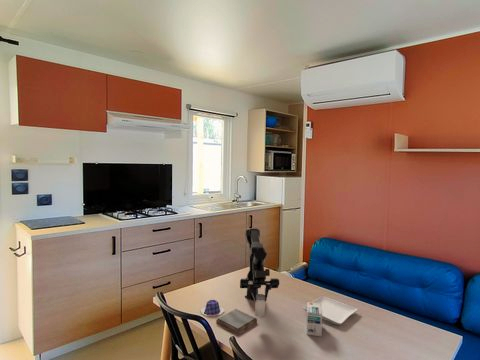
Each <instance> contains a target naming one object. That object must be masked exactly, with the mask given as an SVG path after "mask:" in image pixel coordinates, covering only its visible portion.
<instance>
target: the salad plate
mask: <svg viewBox="0 0 480 360" xmlns="http://www.w3.org/2000/svg"><path fill="white" fill-rule="evenodd" d="M311 303H318V304H321V310H322V320H324V321H327V322H329V323H331V322H332V323H331V324H334V325H337V326H340V325H342V324H343V323H344V322H346V320H347V319H348V318H350V317H351V316H352V315H353V314H355V313H357V312H358V310H359V309H358V308H357V307H355V306H351V305H349V304H346V303H343V302H341V301H339V300H336V299H333V298H329V297H326V296H324V295H322V296H320V297H318V298H316V299H314V300H313V301H311ZM302 309H303V310H304V311H305V312H307V304H306V305H304V306H303V307H302Z"/></svg>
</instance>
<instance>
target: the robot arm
mask: <svg viewBox="0 0 480 360" xmlns="http://www.w3.org/2000/svg"><path fill="white" fill-rule="evenodd" d="M244 234H245V235H244V238H246V243H247V244H248V249H249V250H248V251H249V252H248V256H249V257H248V260H249V261H248V262H249V263H248V264H249V270H248V272H247V275H246V278H240V280H239V288H240V289H246V295H244V297H245V298H246V299H248V300H251V301H254V303H255V302H256V295H257V294H259V289H261V287H262V286H265V288H264V295H265V303H266V302H267V299H268V295H269V291H271V290H272V289H278V288H279V286H280V279H278V278H270V280H266V279H267V277H270V273H271V272H270V268H265V266H264V265H265V263H266V258H267V254H268V252H267V251H266V249H265V248H264V245H263V243H261V241H260V237H261V230H260V229H259V228H255V227H253V228H252V227H251V228H249V229H245V233H244Z"/></svg>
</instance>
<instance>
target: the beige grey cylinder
mask: <svg viewBox="0 0 480 360" xmlns="http://www.w3.org/2000/svg"><path fill="white" fill-rule="evenodd" d="M254 303H255V307H254V314H255V315H254V316H255V317H258V318H264V317H265V315H266V313H265V312H266V302H265V294H263V293H258V294H257V295H256V302H255V301H254Z"/></svg>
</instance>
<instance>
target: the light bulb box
mask: <svg viewBox="0 0 480 360" xmlns="http://www.w3.org/2000/svg"><path fill="white" fill-rule="evenodd" d="M311 302H312V301H311ZM311 302H310V301H307V304H306V305H307V311H306V335H307V334H308V336H309V335H310V336H316V337H322V335H323V334H322V329H323V319H322V310H321V304H318V303H311Z"/></svg>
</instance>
